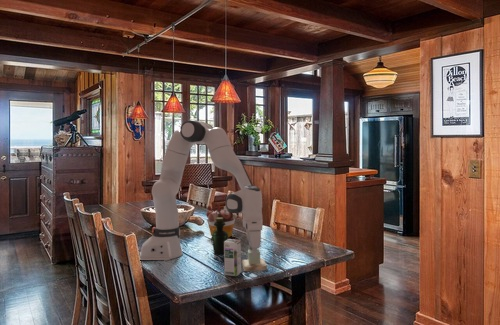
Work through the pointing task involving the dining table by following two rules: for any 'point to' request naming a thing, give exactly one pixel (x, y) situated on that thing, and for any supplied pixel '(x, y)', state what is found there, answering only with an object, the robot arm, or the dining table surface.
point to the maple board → (254, 265)
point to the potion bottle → (219, 237)
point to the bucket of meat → (223, 213)
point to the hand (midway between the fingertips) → (252, 252)
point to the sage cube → (254, 259)
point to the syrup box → (232, 257)
